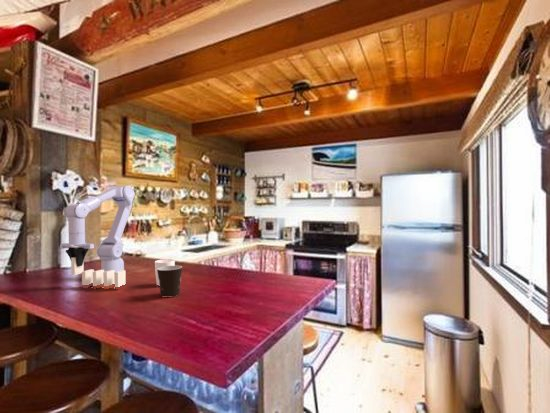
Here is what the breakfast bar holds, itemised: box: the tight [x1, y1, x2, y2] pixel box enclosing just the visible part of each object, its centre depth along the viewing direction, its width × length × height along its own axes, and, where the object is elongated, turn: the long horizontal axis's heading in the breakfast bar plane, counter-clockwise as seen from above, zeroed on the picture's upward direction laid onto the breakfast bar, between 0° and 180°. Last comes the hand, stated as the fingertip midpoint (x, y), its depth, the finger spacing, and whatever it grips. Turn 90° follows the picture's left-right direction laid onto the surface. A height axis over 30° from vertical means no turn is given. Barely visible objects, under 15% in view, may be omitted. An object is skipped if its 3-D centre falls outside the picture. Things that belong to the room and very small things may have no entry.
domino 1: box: [70, 257, 85, 276], centre depth 126 cm, size 4×2×7 cm, turn 168°
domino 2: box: [81, 268, 95, 286], centre depth 125 cm, size 4×2×7 cm, turn 168°
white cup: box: [154, 258, 176, 286], centre depth 127 cm, size 8×8×10 cm
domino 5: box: [114, 269, 127, 288], centre depth 122 cm, size 4×2×7 cm, turn 168°
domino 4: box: [103, 270, 115, 286], centre depth 123 cm, size 4×2×7 cm, turn 168°
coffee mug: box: [157, 265, 183, 297], centre depth 113 cm, size 12×9×10 cm
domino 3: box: [93, 269, 104, 286], centre depth 124 cm, size 4×2×7 cm, turn 168°
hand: (77, 266), depth 126 cm, fingers closed on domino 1, 1 cm apart
